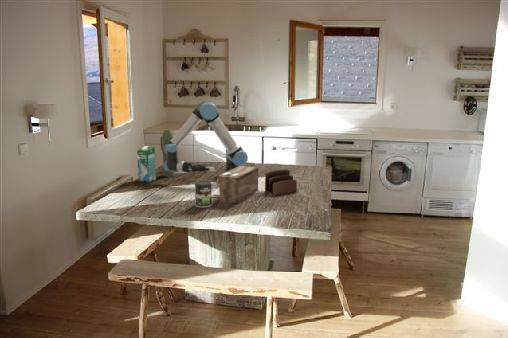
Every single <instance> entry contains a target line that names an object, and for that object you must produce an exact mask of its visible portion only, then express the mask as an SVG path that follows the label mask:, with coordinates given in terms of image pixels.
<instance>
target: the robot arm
mask: <svg viewBox="0 0 508 338" xmlns="http://www.w3.org/2000/svg"><path fill="white" fill-rule="evenodd" d="M193 109H194V110H192V112H191V115H190V116H189V118H187V120H186V121H185V122H184V124H183V125H182V126H181V127H180V128H179V130H177V132H176V133H175V134H174V135H173V138H172V139H171V140H170V141H169V143H168V144H166V145H165V146H164V151H165V153H166V154H167V161H165V163H164V168H165V170H167V171H175V172H181V173H180V174H183V173H182V172H187V173H190V172H204V173H205V172H215V171H216V170H215V167H214V166H208V165H203V164H198V163H197V164H192V162H190V161H180V160H179V157H178V148H179V147H180V146H181V144H182V143H183V142H184V141H185V139H187V137H188V136H189V135H190V133H191V132H192V131H193V130H194V129H195V128H196V127H197V125H198V124H199V123H200V122H203V121H204V122H205V123H206V125H209V126H210V127H211V129H212V131H214V133H215V135H216V136H217V138H218V139H219V140H220V143H222V145H223V147H224V149H225V167H224V171H223V173H225V172H227V171H229V170H232V169H234V168H236V167H238V166H245V165H246V163H248V159H249V156H248V153H247V152H246V151H245V150H244V149H243V148H242V146H241V145H240V144H238V143H236V141H235V139H234V138H233V136H232V135H231V133H230V132H229V130H228V128H227V127H226V125H225V124H224V122H223V121H222V119H221V118H220V117H221V114H220V113H219V111H218V107H217V106H216V105H215V104H214V103H212V102H209V101H205V100H204V101H201V102H199V103H198V104H197V105H196V107H195V108H193Z"/></svg>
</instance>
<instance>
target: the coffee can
mask: <svg viewBox="0 0 508 338" xmlns="http://www.w3.org/2000/svg"><path fill="white" fill-rule="evenodd" d="M194 206H195V207H196V208H209V207H212V182H211V181H210V180H199V181H195V182H194Z"/></svg>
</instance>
